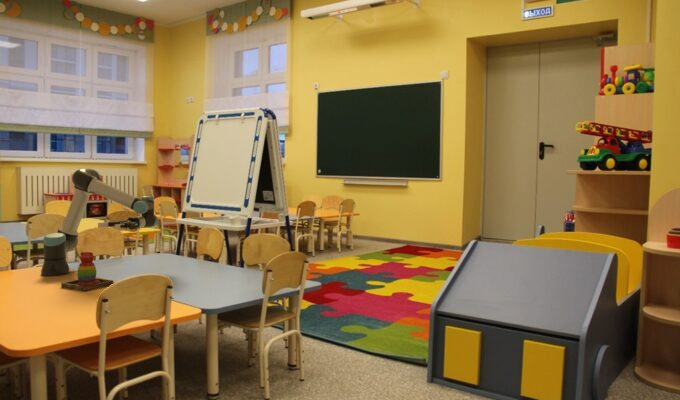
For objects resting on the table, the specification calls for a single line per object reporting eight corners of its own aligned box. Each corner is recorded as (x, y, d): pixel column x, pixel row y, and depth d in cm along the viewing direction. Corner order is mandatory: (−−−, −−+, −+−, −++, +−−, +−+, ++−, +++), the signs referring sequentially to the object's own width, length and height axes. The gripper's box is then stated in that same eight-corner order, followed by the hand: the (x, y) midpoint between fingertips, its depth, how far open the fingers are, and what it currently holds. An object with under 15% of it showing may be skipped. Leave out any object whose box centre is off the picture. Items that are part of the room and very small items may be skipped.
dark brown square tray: (61, 287, 292) (61, 283, 292) (90, 281, 308) (90, 276, 308) (84, 291, 284) (84, 286, 284) (113, 284, 300) (113, 280, 300)
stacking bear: (102, 283, 301) (101, 250, 299) (91, 287, 291) (91, 253, 289) (83, 282, 302) (82, 250, 301) (72, 286, 292) (71, 253, 291)
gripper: (150, 230, 329) (122, 234, 310) (121, 227, 340) (91, 231, 321) (150, 217, 328) (122, 221, 309) (120, 215, 340) (91, 218, 321)
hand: (106, 226), depth 315 cm, fingers open, 13 cm apart
